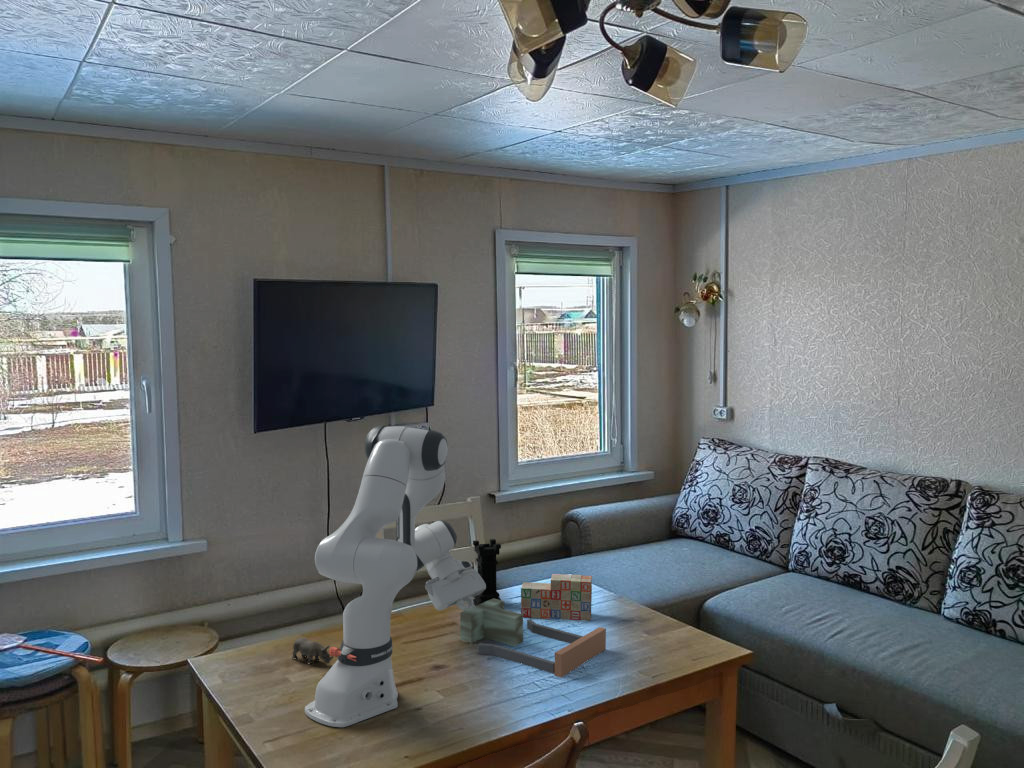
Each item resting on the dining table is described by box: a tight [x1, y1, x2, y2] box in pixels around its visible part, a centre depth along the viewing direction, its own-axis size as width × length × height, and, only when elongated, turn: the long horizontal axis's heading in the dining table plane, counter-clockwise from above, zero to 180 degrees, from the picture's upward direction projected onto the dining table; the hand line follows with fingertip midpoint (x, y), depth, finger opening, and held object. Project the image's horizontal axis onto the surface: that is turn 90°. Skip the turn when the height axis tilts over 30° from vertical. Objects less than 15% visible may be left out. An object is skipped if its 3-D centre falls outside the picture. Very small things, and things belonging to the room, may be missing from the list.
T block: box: [459, 598, 524, 647], centre depth 235 cm, size 15×15×8 cm
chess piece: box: [472, 538, 502, 606], centre depth 262 cm, size 8×8×20 cm
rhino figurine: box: [291, 636, 335, 664], centre depth 219 cm, size 4×14×6 cm, turn 60°
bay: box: [477, 618, 607, 678], centre depth 225 cm, size 24×27×6 cm
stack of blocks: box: [520, 573, 593, 622], centre depth 252 cm, size 21×6×12 cm, turn 82°
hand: (472, 612), depth 240 cm, fingers closed
